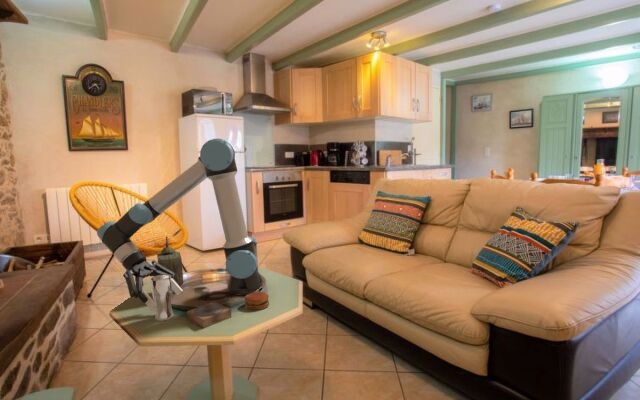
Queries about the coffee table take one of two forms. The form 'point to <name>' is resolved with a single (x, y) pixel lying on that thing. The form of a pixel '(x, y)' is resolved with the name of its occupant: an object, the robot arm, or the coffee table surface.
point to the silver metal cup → (162, 296)
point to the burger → (256, 300)
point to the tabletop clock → (171, 262)
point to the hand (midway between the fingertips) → (168, 300)
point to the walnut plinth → (208, 314)
